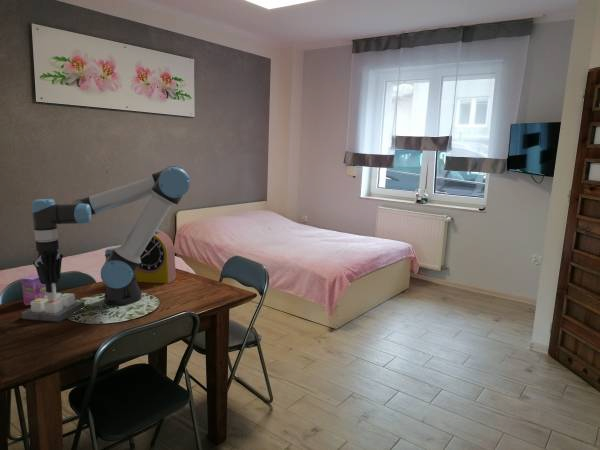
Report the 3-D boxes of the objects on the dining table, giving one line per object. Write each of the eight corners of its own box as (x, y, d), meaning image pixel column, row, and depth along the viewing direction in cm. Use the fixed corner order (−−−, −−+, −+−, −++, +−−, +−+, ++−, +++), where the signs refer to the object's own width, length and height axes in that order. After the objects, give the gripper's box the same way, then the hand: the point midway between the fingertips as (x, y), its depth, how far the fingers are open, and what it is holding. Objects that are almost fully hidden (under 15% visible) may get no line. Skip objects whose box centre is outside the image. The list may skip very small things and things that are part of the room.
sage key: (75, 303, 176) (74, 293, 176) (67, 307, 172) (66, 296, 171) (65, 302, 177) (64, 292, 176) (58, 306, 173) (57, 296, 172)
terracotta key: (63, 309, 170) (62, 299, 169) (55, 313, 165) (54, 303, 164) (53, 308, 170) (52, 298, 170) (45, 312, 166) (43, 302, 165)
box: (35, 306, 179) (32, 279, 177) (23, 305, 181) (20, 278, 178) (54, 298, 189) (51, 272, 187) (43, 297, 191) (40, 271, 188)
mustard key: (49, 308, 171) (48, 298, 170) (41, 312, 166) (40, 302, 166) (40, 307, 171) (38, 297, 171) (31, 311, 167) (30, 301, 166)
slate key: (62, 302, 177) (61, 292, 177) (54, 306, 173) (53, 296, 172) (52, 301, 178) (51, 291, 177) (44, 305, 174) (43, 295, 173)
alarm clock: (128, 281, 214) (124, 229, 209) (138, 275, 222) (134, 225, 218) (168, 283, 210) (165, 230, 206) (176, 277, 219) (173, 227, 214)
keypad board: (84, 307, 178) (84, 301, 178) (58, 321, 163) (58, 315, 163) (50, 305, 181) (50, 299, 180) (22, 318, 166) (21, 312, 166)
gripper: (50, 236, 170) (55, 293, 174) (24, 243, 157) (30, 304, 161) (67, 237, 168) (72, 294, 173) (42, 244, 156) (48, 306, 160)
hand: (52, 299), depth 167 cm, fingers closed
